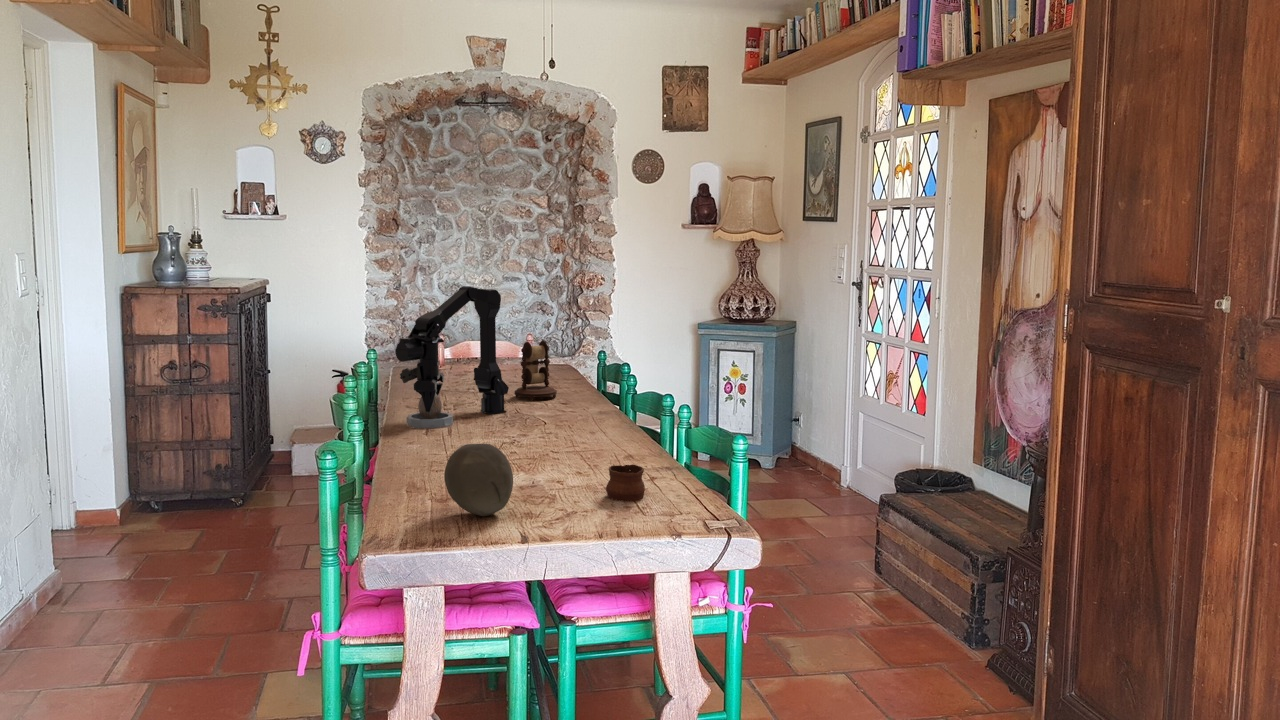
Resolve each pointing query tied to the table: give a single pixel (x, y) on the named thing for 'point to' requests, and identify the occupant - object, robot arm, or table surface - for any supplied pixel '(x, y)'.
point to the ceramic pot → (625, 483)
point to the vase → (434, 410)
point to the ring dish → (429, 421)
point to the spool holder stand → (535, 372)
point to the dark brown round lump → (479, 478)
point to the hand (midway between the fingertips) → (430, 409)
